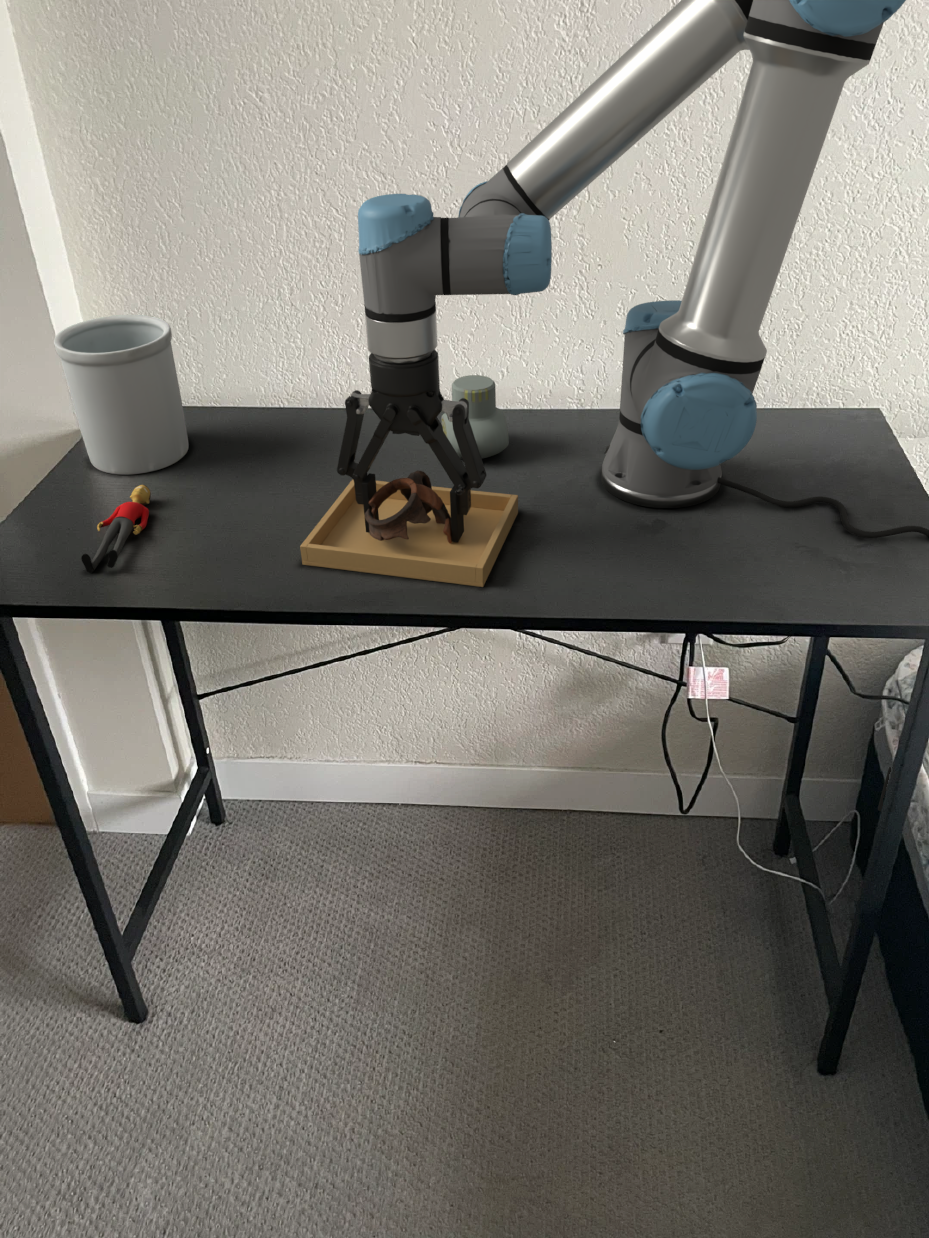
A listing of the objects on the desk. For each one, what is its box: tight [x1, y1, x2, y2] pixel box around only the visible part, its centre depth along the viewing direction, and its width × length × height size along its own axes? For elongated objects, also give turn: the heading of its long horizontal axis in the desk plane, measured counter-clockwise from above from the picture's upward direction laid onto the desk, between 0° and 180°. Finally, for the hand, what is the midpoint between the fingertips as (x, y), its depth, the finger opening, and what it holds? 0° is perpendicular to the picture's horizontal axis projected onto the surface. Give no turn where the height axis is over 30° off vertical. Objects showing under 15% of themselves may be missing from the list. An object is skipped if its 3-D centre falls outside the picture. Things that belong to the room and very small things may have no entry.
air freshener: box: [441, 374, 510, 460], centre depth 139 cm, size 11×8×10 cm
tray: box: [299, 479, 519, 588], centre depth 122 cm, size 22×18×2 cm
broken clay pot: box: [365, 470, 452, 543], centre depth 121 cm, size 12×10×8 cm
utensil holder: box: [53, 314, 190, 476], centre depth 139 cm, size 15×15×18 cm
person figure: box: [80, 484, 152, 574], centre depth 124 cm, size 5×4×18 cm
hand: (414, 531), depth 122 cm, fingers closed on broken clay pot, 10 cm apart
